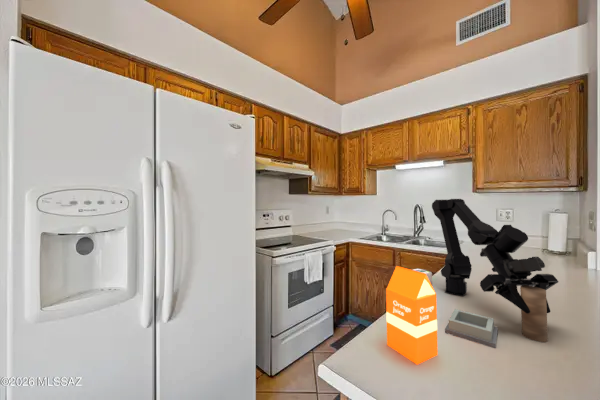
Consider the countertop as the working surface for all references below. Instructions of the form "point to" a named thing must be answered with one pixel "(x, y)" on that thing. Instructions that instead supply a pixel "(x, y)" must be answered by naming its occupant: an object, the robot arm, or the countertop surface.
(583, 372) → the countertop surface
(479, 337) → the dock
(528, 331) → the walnut plug
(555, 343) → the countertop surface
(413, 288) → the orange juice
